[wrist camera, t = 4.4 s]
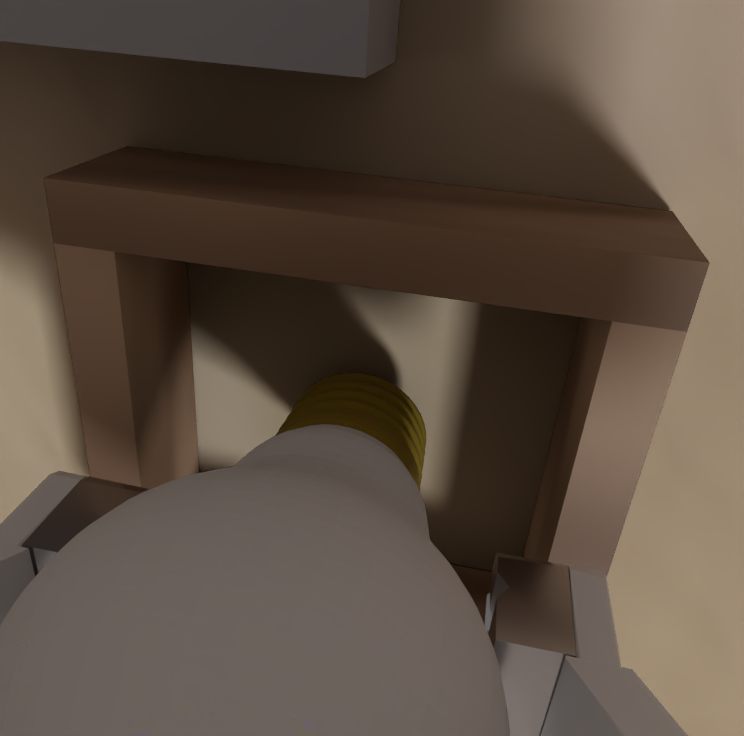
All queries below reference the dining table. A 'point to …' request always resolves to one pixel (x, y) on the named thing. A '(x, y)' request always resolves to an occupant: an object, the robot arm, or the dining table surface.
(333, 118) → the dining table surface
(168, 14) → the tray
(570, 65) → the dining table surface
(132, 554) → the light bulb
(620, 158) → the dining table surface
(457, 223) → the frame
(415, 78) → the dining table surface
